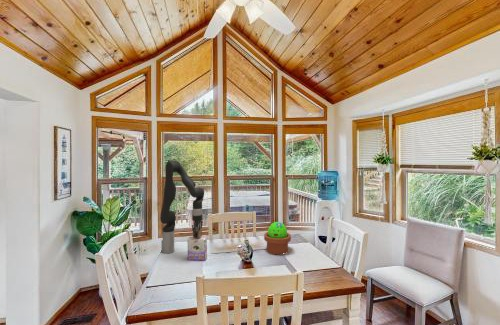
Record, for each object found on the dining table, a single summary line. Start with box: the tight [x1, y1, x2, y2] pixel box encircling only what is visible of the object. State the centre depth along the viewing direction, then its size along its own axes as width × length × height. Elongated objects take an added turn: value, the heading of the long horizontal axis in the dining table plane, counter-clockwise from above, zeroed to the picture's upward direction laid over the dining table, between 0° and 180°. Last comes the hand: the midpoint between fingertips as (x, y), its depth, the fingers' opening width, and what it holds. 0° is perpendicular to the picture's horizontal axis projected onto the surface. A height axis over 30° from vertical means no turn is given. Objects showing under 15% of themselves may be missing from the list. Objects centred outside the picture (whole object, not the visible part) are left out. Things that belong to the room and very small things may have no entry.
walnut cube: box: [192, 229, 203, 238], centre depth 188 cm, size 5×5×5 cm
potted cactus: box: [263, 221, 292, 255], centre depth 206 cm, size 22×22×25 cm
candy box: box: [187, 236, 208, 262], centre depth 188 cm, size 14×6×16 cm, turn 84°
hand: (197, 236), depth 188 cm, fingers closed on walnut cube, 4 cm apart
